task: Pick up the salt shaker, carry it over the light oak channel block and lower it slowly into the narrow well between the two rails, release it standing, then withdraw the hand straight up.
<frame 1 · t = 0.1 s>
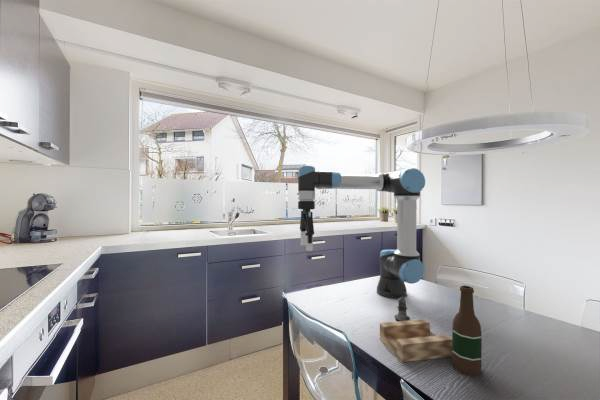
hand: (306, 247, 119), 28 cm above the table, fingers open, 13 cm apart
well block: (414, 346, 90), on the table
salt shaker: (402, 326, 104), on the table
beer bottle: (466, 368, 78), on the table
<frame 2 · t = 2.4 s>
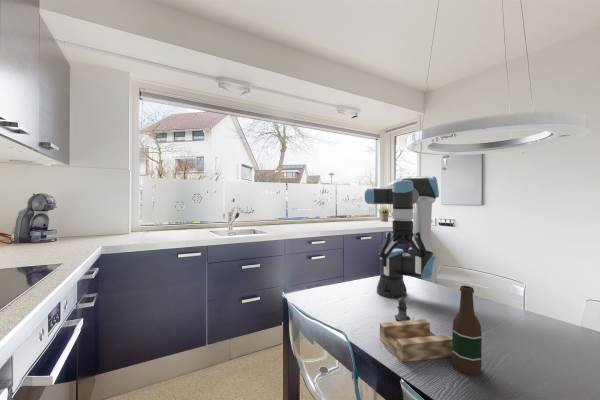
hand: (402, 274, 104), 21 cm above the table, fingers open, 13 cm apart
nothing on the table moved.
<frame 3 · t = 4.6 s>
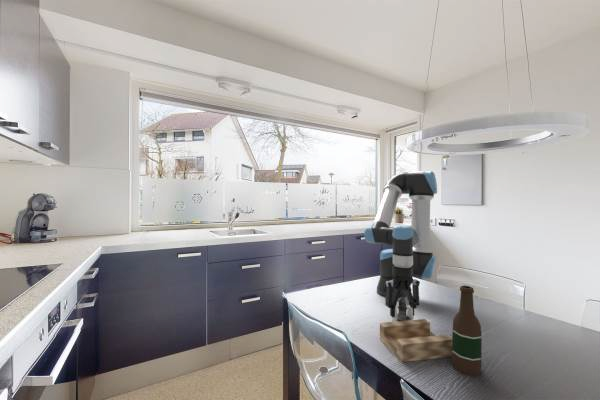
hand: (402, 324, 104), 1 cm above the table, fingers closed on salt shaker, 6 cm apart
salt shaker: (402, 326, 104), on the table, touching gripper
everything else where it was.
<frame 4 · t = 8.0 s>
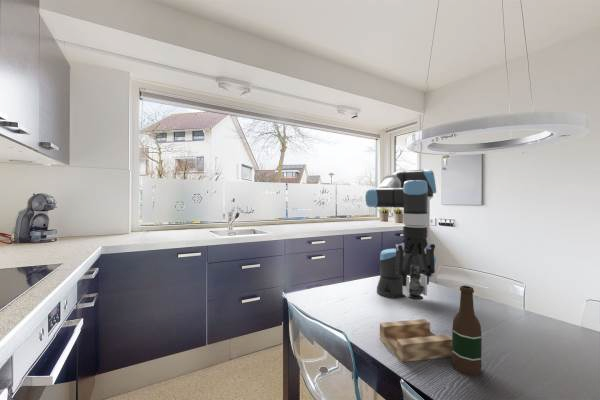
hand: (414, 294, 90), 18 cm above the table, fingers closed on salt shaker, 6 cm apart
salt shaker: (414, 297, 90), point 17 cm above the table, touching gripper
everything else where it was.
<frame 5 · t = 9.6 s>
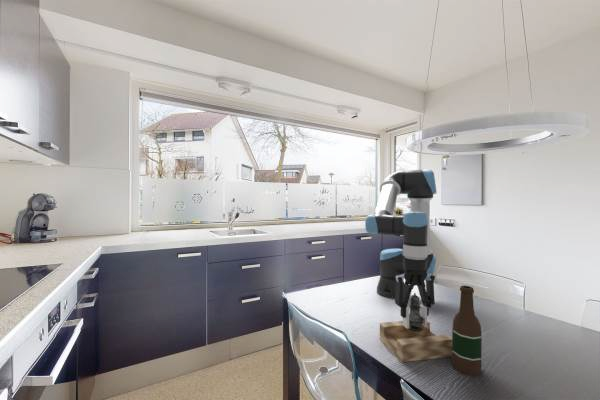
hand: (414, 325, 90), 7 cm above the table, fingers closed on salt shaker, 6 cm apart
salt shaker: (414, 328, 89), point 6 cm above the table, touching gripper
everything else where it was.
when the fingers open (3 cm above the table, at t = 11.2 s): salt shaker drops 1 cm, resting on well block.
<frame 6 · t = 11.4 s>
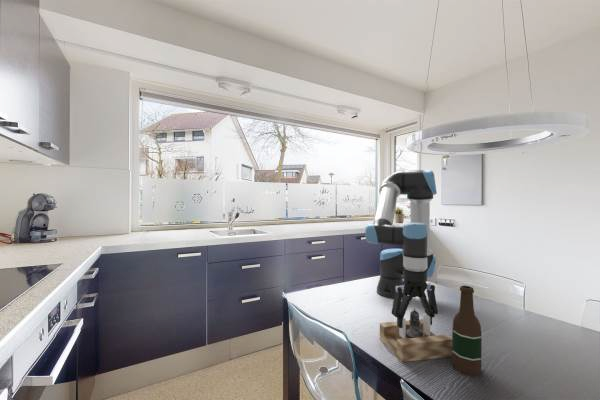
hand: (414, 335, 90), 4 cm above the table, fingers open, 8 cm apart
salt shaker: (414, 344, 90), point 1 cm above the table, touching well block
everything else where it was.
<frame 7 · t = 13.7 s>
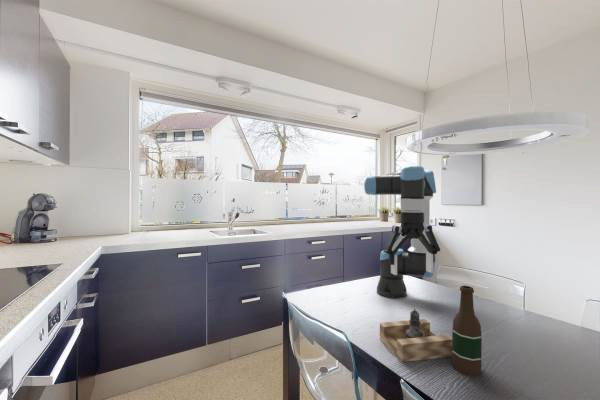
hand: (411, 273, 92), 24 cm above the table, fingers open, 13 cm apart
nothing on the table moved.
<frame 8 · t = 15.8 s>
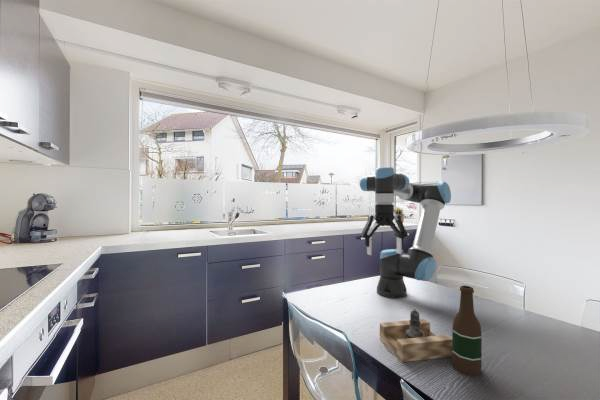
hand: (384, 254, 112), 27 cm above the table, fingers open, 13 cm apart
nothing on the table moved.
at the end: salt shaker inside the target area on the well block (0.1 cm from its centre), point 0.8 cm above the well block's base; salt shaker tilted 0°; the gripper is holding nothing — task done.
